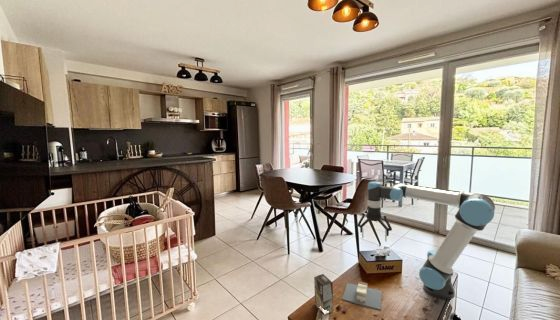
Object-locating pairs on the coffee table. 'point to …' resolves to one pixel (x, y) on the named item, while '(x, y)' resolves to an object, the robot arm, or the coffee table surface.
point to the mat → (371, 300)
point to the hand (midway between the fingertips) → (374, 238)
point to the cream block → (362, 291)
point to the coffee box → (323, 292)
